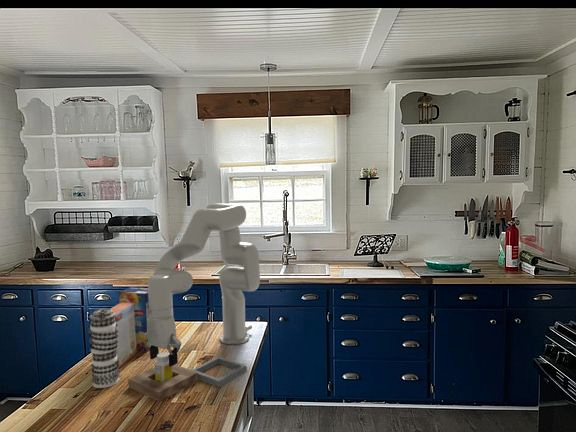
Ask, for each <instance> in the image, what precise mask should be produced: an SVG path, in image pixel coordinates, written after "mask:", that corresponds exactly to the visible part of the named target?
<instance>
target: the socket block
mask: <svg viewBox="0 0 576 432" xmlns="http://www.w3.org/2000/svg"><path fill="white" fill-rule="evenodd" d="M127 382H128V389H131V390H134V391H136V392H138V393H139V394H142V395H144V396H147V397H149V398H151V399H152V400H156V401H157V402H160V403H161V402H162V401H164V400H166V399H167V398H169V397H171V396H173V395H174V394H177V393H178V392H181V391H182V390H184V389H186V388H188V387H190V386H192V385H194V384H195V383H197V382H199V379H198V373H197V372H195V371H192V369H189V368H186V367H183V366H181V365H178V364H175V365H173V366H172V378H171V379H169V380H167V381H165V382H163V383H160V382H157V381H155V366H154V367H151V368H149V369H146V370H145V371H143V372H141V373H138V374H136V375H134V376H132V377H129V378H128V379H127Z"/></svg>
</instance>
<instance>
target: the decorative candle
mask: <svg viewBox="0 0 576 432" xmlns="http://www.w3.org/2000/svg"><path fill="white" fill-rule="evenodd" d="M115 314H116V313H115V312H113V311H112V310H111V308H100V309H96V310H95V311H93V312H92V314H90V315H89V319H90V325H89V326H90V327H88V329H87V331H88V337H89V340H88V341H89V347H90V352H91V353H92V354H91V355H92V358H91V363H92V364H91V373H92V374H91V382H92V387H94V388H97V389H104V388H109V387H113V386H115V385H116V384H118V383H119V382H120V378H119V377H120V368H118V367H119V365H118V362H119V361H118V359H117V354H116V352H117V351H116V349H117V347H118V345H117V343H118V341H117V340H116V338H117V337H118V335H117V334H116V333H117V332H118V330H116V329H115V327H116V326H118V325H117V324H116V322H115Z"/></svg>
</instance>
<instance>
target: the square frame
mask: <svg viewBox="0 0 576 432" xmlns="http://www.w3.org/2000/svg"><path fill="white" fill-rule="evenodd" d="M218 364H219V365H221V366H225V367H227V368H229V369H230V368H231V369H234V370H232V371H230V372H229V373H227V374H225V375H223V376H222V377H220V378H218V377H215V376H212V375H210V374H209V375H208V374H206V373H205V371H207V370H209V369H211V368H214V367H215V366H217V365H218ZM247 366H248V365H246V364H242V363H240V362H236V361H234V360H231V359H227V358H223V357H221V356H217V357H215V358H213V359H211V360H209V361H207V362H205V363H203V364H200V365H198V366H197V367H195V368H192V369H191V370H192V371H195V372H197V373H198V381H202V382H205V383H207V384H210V385H212V386H216V387H219V388H220V387H222V386H223V385H225V384H227V383H229V382H230V381H232V380H234V379H236V378H237V377H239V376H241V375H242V374H244V373H246V372H247V369H248V367H247Z"/></svg>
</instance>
